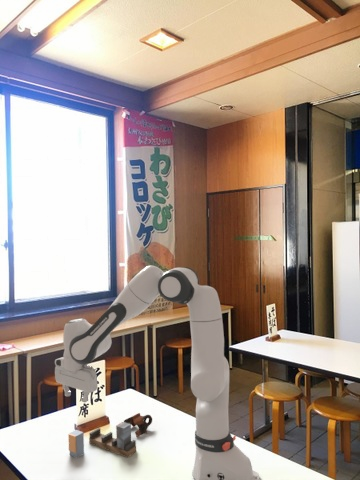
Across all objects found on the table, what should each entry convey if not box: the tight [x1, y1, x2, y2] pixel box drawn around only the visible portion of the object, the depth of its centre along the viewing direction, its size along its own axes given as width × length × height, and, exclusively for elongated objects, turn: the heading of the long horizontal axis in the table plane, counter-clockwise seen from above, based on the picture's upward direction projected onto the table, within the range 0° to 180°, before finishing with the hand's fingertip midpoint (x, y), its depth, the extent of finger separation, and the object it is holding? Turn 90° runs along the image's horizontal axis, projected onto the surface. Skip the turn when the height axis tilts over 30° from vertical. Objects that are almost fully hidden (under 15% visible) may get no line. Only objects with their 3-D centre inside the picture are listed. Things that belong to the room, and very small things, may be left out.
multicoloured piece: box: [68, 429, 85, 458], centre depth 151 cm, size 4×4×8 cm
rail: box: [88, 421, 137, 458], centre depth 155 cm, size 20×5×10 cm, turn 56°
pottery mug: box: [123, 412, 153, 438], centre depth 168 cm, size 12×10×8 cm
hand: (76, 398), depth 151 cm, fingers open, 8 cm apart
